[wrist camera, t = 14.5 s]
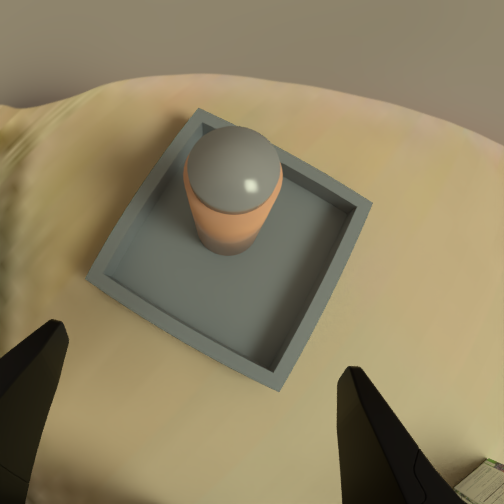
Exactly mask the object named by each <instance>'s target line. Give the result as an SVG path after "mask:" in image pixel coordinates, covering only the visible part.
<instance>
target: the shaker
mask: <svg viewBox="0 0 504 504" xmlns="http://www.w3.org/2000/svg"><path fill="white" fill-rule="evenodd" d="M183 180H184V185H185V189H186V193H187V197H188V200H189V204H190V208H191V212H192V215H193V219H194V223H195V226H196V230H197V233H198V236H199V239H200V240H201V242H202V243H203V245H204V246H205V247H206V248H207V249H208V250H210V251H212V252H213V253H216V254H218V255H223V256H233V255H237V254H240V253H242V252H244V251H246V250H247V249H248V248H249V247H250V246H251V245H252V244H253V243H254V241H255V239H256V237H257V235H258V234H259V232H260V230H261V228H262V226H263V224H264V222H265V220H266V218H267V216H268V214H269V212H270V210H271V208H272V206H273V204H274V202H275V200H276V198H277V196H278V194H279V192H280V189H281V186H282V180H283V173H282V167H281V163H280V160H279V157H278V154H277V152H276V150H275V148H274V147H273V145H272V144H271V143H270V141H269V140H267V139H266V138H265V137H264V136H263V135H261V134H260V133H258V132H256V131H254V130H252V129H249V128H245V127H240V126H227V127H221V128H218V129H215V130H213V131H210V132H209V133H207V134H205V135H204V136H203V137H201V138H200V139H199V140H198V141H197V142H196V144H195V145H194V146H193V148H192V150H191V152H190V153H189V155H188V157H187V159H186V162H185V165H184V171H183Z"/></svg>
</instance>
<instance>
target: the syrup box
mask: <svg viewBox="0 0 504 504" xmlns="http://www.w3.org/2000/svg"><path fill="white" fill-rule="evenodd" d="M453 489H454V491H455V492H456V493H457V494H458V496H459V497H460V498H461V499H462V500H464V501H465V502H466V503H468V504H504V465H503V464H501V463H498V462H496V461H494V460H492V459H490V458H489V459H487V460H486V461H485V462H483V463H482V464H481V465H480V466H479V467H478V468H477V469H475V470H474V471H473V472H472V473H471V474H470V475H468V476H467V477H466V478H465V479H464V480H462V481H461V482H460V483H459V484H458V485H456V486H455V487H454V488H453Z"/></svg>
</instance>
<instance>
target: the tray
mask: <svg viewBox="0 0 504 504" xmlns="http://www.w3.org/2000/svg"><path fill="white" fill-rule="evenodd" d="M227 126H236V125H234V124H232V123H230V122H228V121H225V120H223V119H221V118H219V117H217V116H215V115H213V114H211V113H208V112H206V111H204V110H202V109H200V108H198V109H197V110H196V112H195V113H194V114H193V115H192V117H191V118H190V119H189V120H188V122H187V123H186V124H185V126H184V127H183V128H182V129H181V131H180V132H179V133H178V135H177V136H176V137H175V139H174V140H173V141H172V143H171V144H170V145H169V147H168V148H167V149H166V151H165V152H164V154H163V155H162V156H161V158H160V159H159V161H158V162H157V163H156V165H155V166H154V168H153V169H152V170H151V172H150V173H149V175H148V176H147V178H146V179H145V181H144V182H143V184H142V185H141V187H140V188H139V190H138V191H137V193H136V194H135V196H134V197H133V199H132V200H131V202H130V203H129V205H128V206H127V208H126V210H125V211H124V213H123V214H122V216H121V217H120V219H119V221H118V222H117V224H116V226H115V227H114V229H113V230H112V232H111V234H110V235H109V237H108V239H107V241H106V242H105V244H104V246H103V247H102V249H101V251H100V253H99V254H98V256H97V258H96V260H95V261H94V263H93V265H92V267H91V269H90V270H89V272H88V274H87V276H86V278H85V279H86V280H87V281H89V282H90V283H92V284H93V285H94V286H96V287H97V288H99V289H100V290H102V291H103V292H105V293H106V294H108V295H109V296H110V297H112V298H113V299H115V300H116V301H118V302H119V303H121V304H123V305H124V306H126V307H127V308H129V309H130V310H132V311H133V312H135V313H136V314H138V315H140V316H141V317H143V318H144V319H146V320H148V321H149V322H151V323H152V324H154V325H156V326H157V327H159V328H161V329H162V330H164V331H165V332H167V333H169V334H171V335H172V336H174V337H176V338H177V339H179V340H181V341H182V342H184V343H186V344H188V345H189V346H191V347H193V348H195V349H196V350H198V351H200V352H202V353H204V354H205V355H207V356H209V357H211V358H213V359H215V360H216V361H218V362H220V363H222V364H224V365H226V366H228V367H230V368H231V369H233V370H235V371H237V372H239V373H241V374H243V375H245V376H247V377H249V378H251V379H253V380H255V381H257V382H259V383H261V384H263V385H265V386H267V387H269V388H271V389H274V390H276V391H278V392H280V390H281V388H282V387H283V385H284V383H285V381H286V380H287V378H288V376H289V374H290V373H291V371H292V369H293V367H294V365H295V364H296V362H297V360H298V358H299V356H300V354H301V353H302V351H303V349H304V347H305V345H306V343H307V341H308V340H309V338H310V336H311V334H312V332H313V330H314V328H315V326H316V324H317V322H318V320H319V318H320V317H321V315H322V313H323V311H324V309H325V307H326V305H327V303H328V301H329V299H330V297H331V295H332V293H333V290H334V288H335V286H336V284H337V282H338V280H339V278H340V276H341V274H342V272H343V270H344V267H345V265H346V263H347V261H348V259H349V257H350V254H351V252H352V250H353V248H354V246H355V243H356V241H357V239H358V237H359V234H360V232H361V230H362V227H363V225H364V223H365V220H366V218H367V216H368V213H369V211H370V209H371V206H372V204H373V203H372V202H370V201H369V200H367V199H366V198H364V197H363V196H361V195H359V194H358V193H356V192H355V191H353V190H351V189H350V188H348V187H347V186H345V185H343V184H342V183H340V182H338V181H337V180H335V179H333V178H332V177H330V176H328V175H327V174H325V173H323V172H321V171H320V170H318V169H316V168H315V167H313V166H311V165H309V164H308V163H306V162H304V161H302V160H300V159H299V158H297V157H295V156H293V155H291V154H290V153H288V152H286V151H284V150H282V149H280V148H279V147H277V146H275V145H273V144H272V145H273V147H274V148H275V150H276V152H277V154H278V157H279V160H280V163H281V167H282V173H283V180H282V186H281V189H280V192H279V194H278V196H277V198H276V200H275V202H274V204H273V206H272V208H271V210H270V212H269V214H268V216H267V218H266V220H265V222H264V224H263V226H262V228H261V230H260V232H259V234H258V235H257V237H256V239H255V241H254V243H253V244H252V245H251V246H250V247H249V248H248V249H247V250H246V251H244V252H242V253H240V254H237V255H233V256H223V255H218V254H216V253H213V252H212V251H210V250H208V249H207V248H206V247H205V246H204V245H203V243H202V242H201V240H200V239H199V236H198V233H197V230H196V226H195V223H194V219H193V215H192V212H191V208H190V204H189V200H188V197H187V193H186V189H185V185H184V180H183V171H184V165H185V162H186V159H187V157H188V155H189V153H190V152H191V150H192V148H193V146H194V145H195V144H196V142H197V141H198V140H199V139H200V138H201V137H203V136H204V135H205V134H207V133H209V132H210V131H213V130H215V129H218V128H221V127H227Z"/></svg>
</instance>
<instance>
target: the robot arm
mask: <svg viewBox="0 0 504 504" xmlns="http://www.w3.org/2000/svg"><path fill="white" fill-rule="evenodd" d="M68 344H69V338H68V335H67V332H66V329H65V326H64V324H63V322H61V321H58V320H54V319H51V320H49V321H48V322H46V323H45V324H44V325H42V326H41V327H40V328H38V329H37V330H36V331H34V332H33V333H32V334H31V335H29V336H28V337H27V338H25V339H24V340H23V341H22V342H20V343H19V344H18V345H16V346H15V347H14V348H13V349H11V350H10V351H9V352H8V353H6V354H5V355H4V356H3V357H1V358H0V504H25V501H26V496H27V491H28V486H29V484H28V483H29V481H30V477H31V473H32V469H33V465H34V461H35V457H36V453H37V449H38V446H39V442H40V439H41V435H42V432H43V429H44V425H45V422H46V419H47V416H48V413H49V410H50V407H51V404H52V401H53V398H54V395H55V392H56V389H57V386H58V383H59V379H60V375H61V371H62V367H63V363H64V359H65V355H66V352H67V348H68ZM337 438H338V449H339V461H340V475H341V490H342V504H468V503H466V502H465V501H464V500H462V499H461V498H460V497H459V496H458V494H457V493H456V492H455V491H454V490H453V489H452V488H451V487H450V485H449V484H448V483H447V482H446V481H445V480H444V479H443V478H442V476H441V475H440V474H439V473H438V472H437V471H436V469H435V468H434V467H433V466H432V464H431V463H430V462H429V460H428V459H427V458H426V456H425V455H424V454H423V452H422V451H421V449H418V448H419V447H418V445H417V444H416V442H415V441H414V440H413V438H412V437H411V435H410V434H409V433H408V431H407V430H406V428H405V427H404V426H403V424H402V423H401V422H400V420H399V419H398V417H397V416H396V415H395V413H394V412H393V410H392V409H391V408H390V406H389V405H388V404H387V402H386V401H385V399H384V398H383V397H382V395H381V394H380V393H379V391H378V390H377V388H376V387H375V386H374V384H373V383H372V382H371V380H370V379H369V378H368V376H367V375H366V373H365V372H364V371H363V369H362V368H361V367H358V366H349V367H347V368H346V369H345V371H344V373H343V374H342V376H341V377H340V378H339V380H338V384H337Z"/></svg>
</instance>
